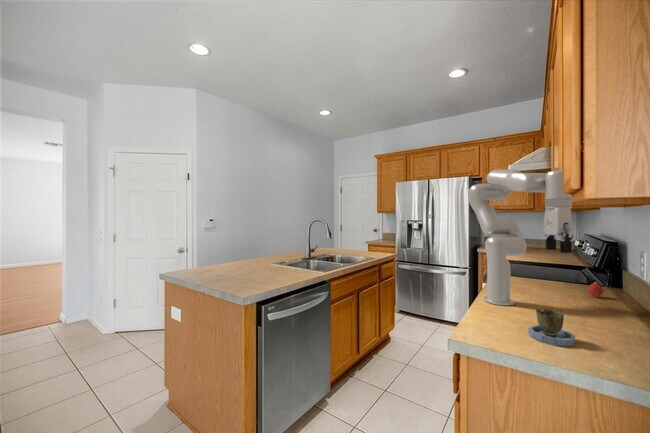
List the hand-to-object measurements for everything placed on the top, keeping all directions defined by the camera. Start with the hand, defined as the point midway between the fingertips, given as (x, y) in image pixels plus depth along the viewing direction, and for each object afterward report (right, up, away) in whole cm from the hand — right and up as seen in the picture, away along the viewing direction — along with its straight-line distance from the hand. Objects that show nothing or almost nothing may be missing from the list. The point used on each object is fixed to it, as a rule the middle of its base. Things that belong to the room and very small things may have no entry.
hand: (557, 251), depth 104 cm
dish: (-10, -28, -9) cm, 31 cm away
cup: (-10, -28, -9) cm, 31 cm away
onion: (+52, -29, +40) cm, 72 cm away
